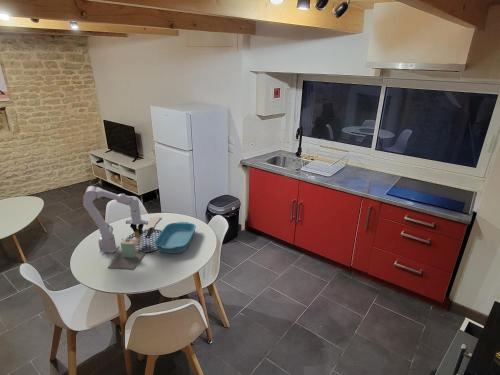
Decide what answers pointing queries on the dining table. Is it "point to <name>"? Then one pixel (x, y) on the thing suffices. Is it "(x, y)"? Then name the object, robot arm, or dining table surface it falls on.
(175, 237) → the casserole dish
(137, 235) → the tall cardboard box
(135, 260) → the mat
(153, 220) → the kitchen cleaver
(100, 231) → the robot arm
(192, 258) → the dining table surface
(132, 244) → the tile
